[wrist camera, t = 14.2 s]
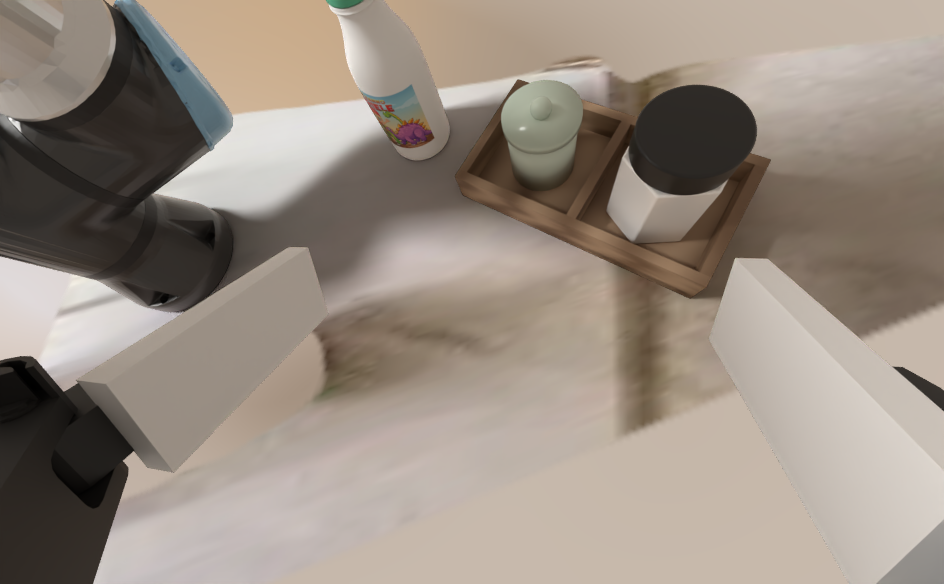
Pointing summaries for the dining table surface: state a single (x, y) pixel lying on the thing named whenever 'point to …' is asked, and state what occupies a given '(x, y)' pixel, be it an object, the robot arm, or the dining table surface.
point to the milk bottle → (393, 77)
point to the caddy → (587, 195)
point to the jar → (679, 161)
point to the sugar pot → (542, 133)
